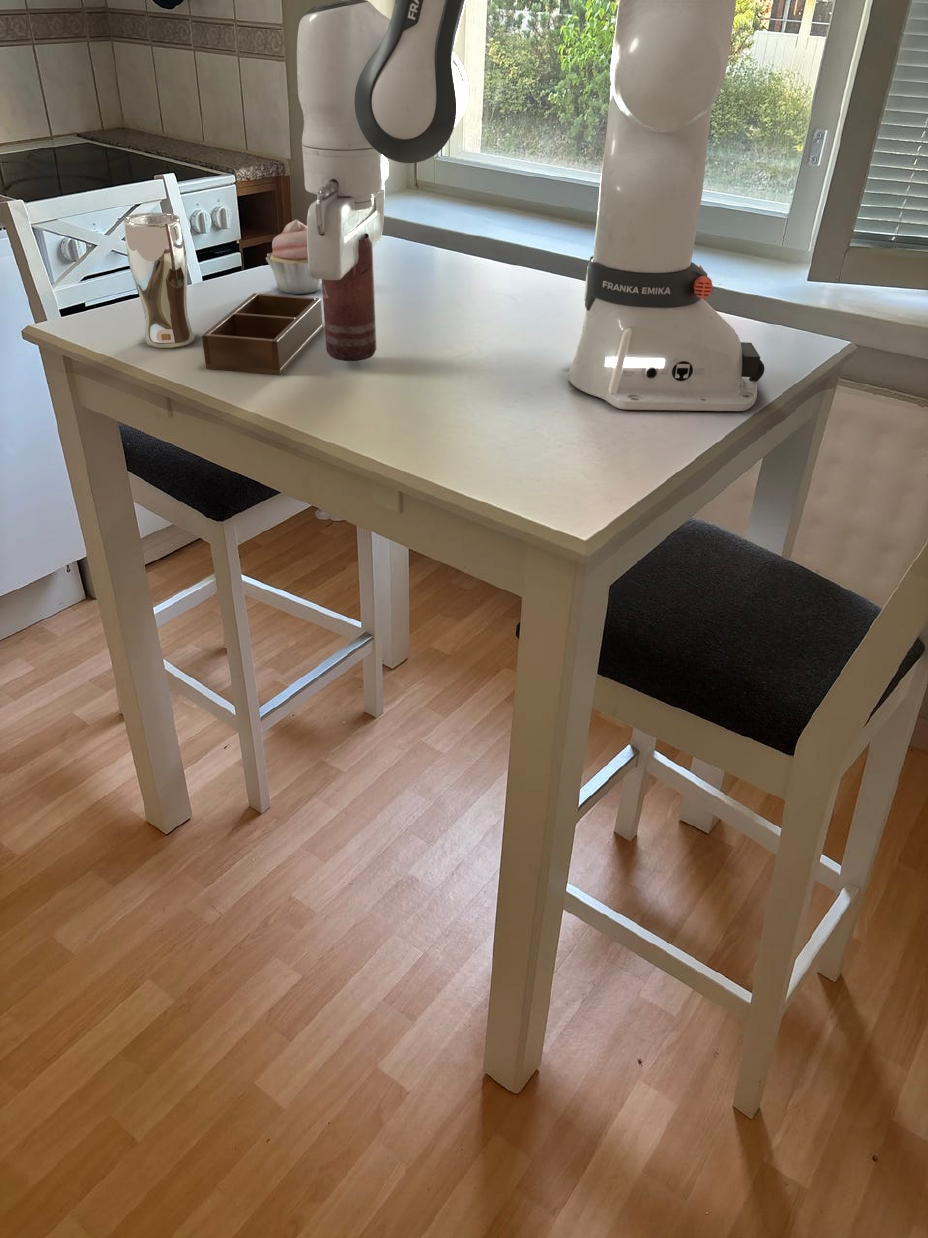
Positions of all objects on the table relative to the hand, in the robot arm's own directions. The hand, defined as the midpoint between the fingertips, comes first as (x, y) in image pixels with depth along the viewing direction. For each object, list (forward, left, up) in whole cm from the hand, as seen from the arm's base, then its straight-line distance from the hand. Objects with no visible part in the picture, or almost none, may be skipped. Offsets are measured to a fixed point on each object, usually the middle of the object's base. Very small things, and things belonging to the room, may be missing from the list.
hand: (350, 298), depth 114 cm
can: (0, 0, -7) cm, 7 cm away
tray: (+12, -3, -8) cm, 15 cm away
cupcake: (+16, -30, -8) cm, 35 cm away
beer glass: (+25, -3, -8) cm, 27 cm away
